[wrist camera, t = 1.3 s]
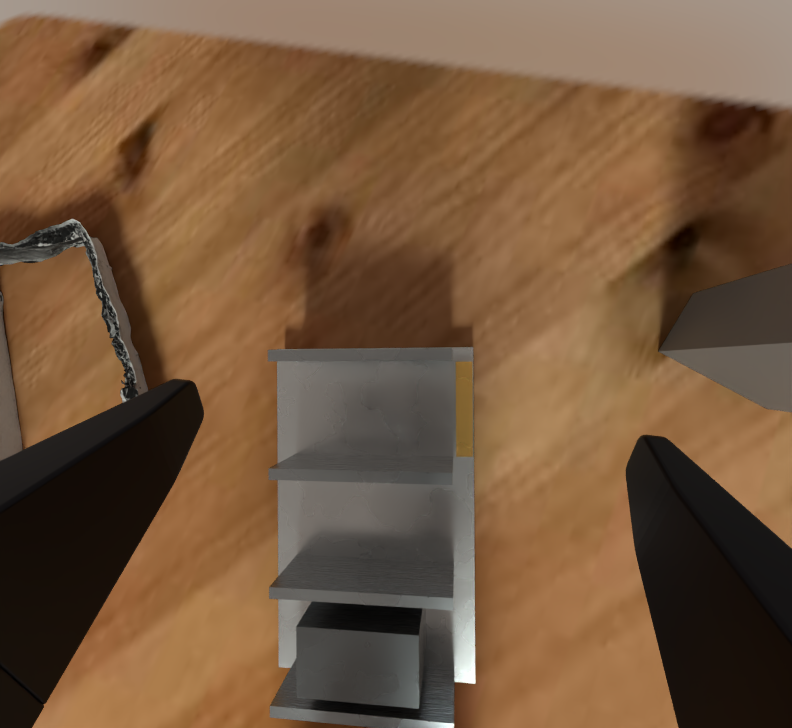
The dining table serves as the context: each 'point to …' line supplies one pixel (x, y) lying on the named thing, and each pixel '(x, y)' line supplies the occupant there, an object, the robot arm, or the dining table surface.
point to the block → (741, 337)
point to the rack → (375, 534)
